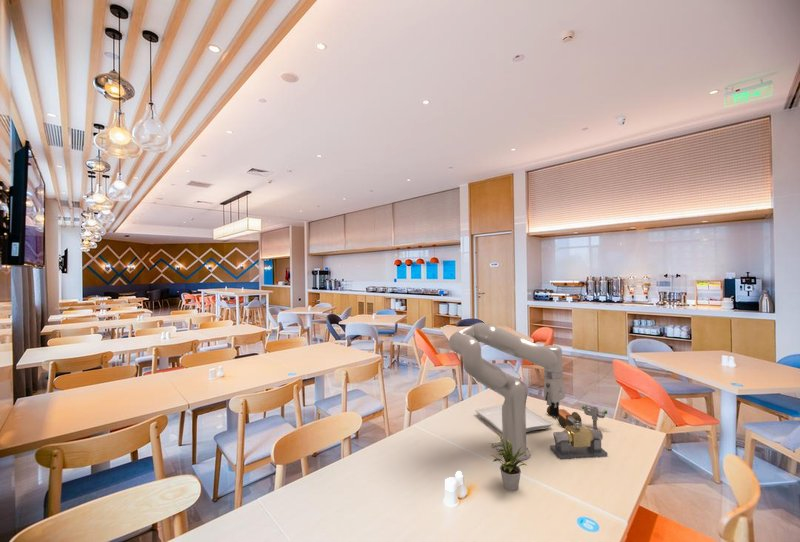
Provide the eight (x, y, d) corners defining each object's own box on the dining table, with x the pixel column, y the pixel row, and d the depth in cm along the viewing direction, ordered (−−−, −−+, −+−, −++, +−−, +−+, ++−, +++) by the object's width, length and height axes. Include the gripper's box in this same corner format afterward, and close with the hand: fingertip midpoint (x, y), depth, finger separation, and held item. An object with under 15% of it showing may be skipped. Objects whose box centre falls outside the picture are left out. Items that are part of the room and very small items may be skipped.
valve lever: (583, 427, 140) (583, 422, 140) (576, 427, 140) (575, 422, 140) (564, 413, 154) (564, 408, 154) (557, 413, 154) (557, 408, 154)
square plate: (474, 416, 179) (474, 409, 179) (518, 408, 187) (518, 401, 187) (504, 440, 153) (504, 432, 153) (554, 430, 162) (554, 422, 162)
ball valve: (560, 459, 137) (559, 431, 137) (550, 449, 145) (549, 422, 145) (607, 456, 138) (606, 429, 138) (594, 446, 146) (594, 420, 146)
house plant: (479, 477, 126) (478, 434, 126) (509, 469, 131) (508, 427, 131) (503, 502, 113) (502, 453, 113) (536, 491, 118) (535, 444, 118)
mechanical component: (607, 432, 158) (606, 411, 157) (582, 426, 164) (581, 406, 164) (607, 430, 160) (607, 409, 160) (583, 424, 166) (582, 404, 166)
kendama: (558, 413, 180) (588, 429, 161) (542, 417, 178) (571, 433, 158) (557, 402, 180) (587, 417, 161) (542, 405, 178) (570, 420, 158)
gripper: (553, 380, 142) (554, 423, 142) (569, 372, 151) (571, 413, 151) (536, 376, 147) (537, 418, 148) (553, 368, 157) (554, 408, 157)
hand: (554, 415), depth 149 cm, fingers closed
